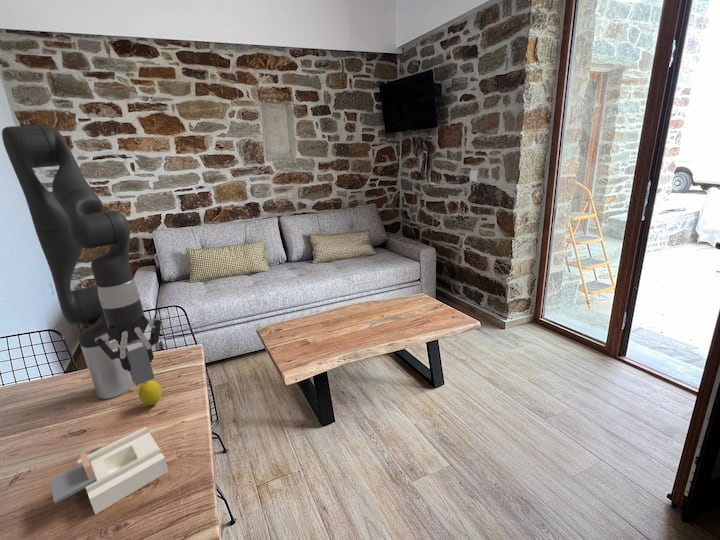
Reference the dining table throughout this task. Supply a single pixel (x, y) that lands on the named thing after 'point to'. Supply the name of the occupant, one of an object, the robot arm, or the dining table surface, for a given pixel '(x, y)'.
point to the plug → (139, 362)
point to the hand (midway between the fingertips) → (139, 365)
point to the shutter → (73, 480)
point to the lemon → (150, 392)
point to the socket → (124, 468)
